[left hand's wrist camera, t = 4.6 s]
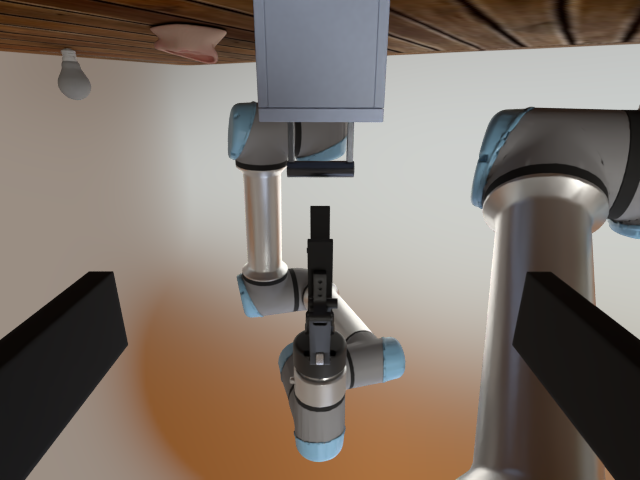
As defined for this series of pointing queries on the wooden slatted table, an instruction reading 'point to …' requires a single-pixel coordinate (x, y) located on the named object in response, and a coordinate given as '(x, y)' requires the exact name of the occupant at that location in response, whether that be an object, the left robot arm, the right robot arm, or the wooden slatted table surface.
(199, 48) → the anatomical model
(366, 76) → the chest
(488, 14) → the wooden slatted table surface
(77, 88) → the light bulb
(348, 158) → the lid
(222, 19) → the wooden slatted table surface
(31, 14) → the wooden slatted table surface
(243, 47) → the wooden slatted table surface
